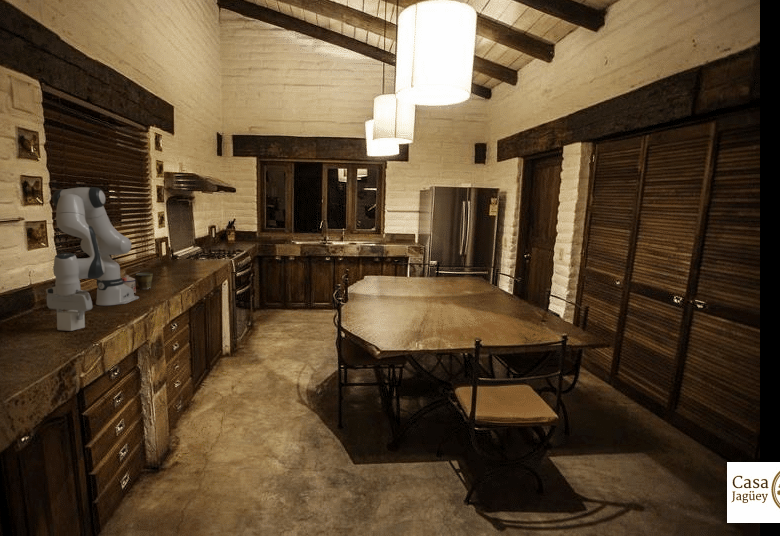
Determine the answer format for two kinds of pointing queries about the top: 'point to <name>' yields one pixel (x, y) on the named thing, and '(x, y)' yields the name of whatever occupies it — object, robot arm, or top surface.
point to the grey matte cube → (69, 320)
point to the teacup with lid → (130, 283)
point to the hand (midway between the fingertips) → (71, 319)
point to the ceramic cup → (144, 280)
